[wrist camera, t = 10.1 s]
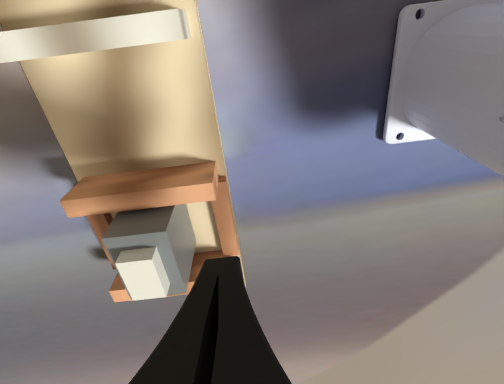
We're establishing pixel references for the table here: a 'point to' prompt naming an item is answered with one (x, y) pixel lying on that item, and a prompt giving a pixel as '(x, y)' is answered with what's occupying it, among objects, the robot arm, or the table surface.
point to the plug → (152, 250)
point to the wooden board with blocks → (128, 111)
